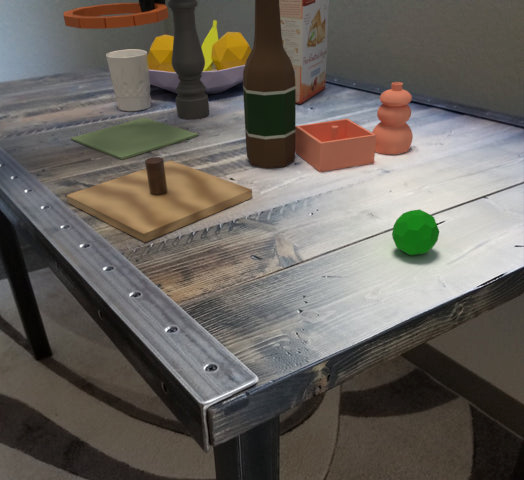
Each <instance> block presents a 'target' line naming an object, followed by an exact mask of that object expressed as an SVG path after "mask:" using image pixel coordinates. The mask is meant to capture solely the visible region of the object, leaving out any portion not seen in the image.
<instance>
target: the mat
mask: <svg viewBox="0 0 524 480" xmlns="http://www.w3.org/2000/svg"><path fill="white" fill-rule="evenodd" d="M197 137H199V133H197V132H195V131H194V132H193V131H190V130H187V129H183V128H181V127H177V126H174V125H171V124H167V123H163V122H160V121H158V120H154V119H150V118H147V117H141V118H137V119H134V120H131V121H126V122H123V123H119V124H116V125H112V126H108V127H104V128H101V129H98V130H94V131H90V132H87V133H83V134H80V135H76V136H72V137H70V141H73V142H76V143H78V144H80V145H83V146H86V147H88V148H91V149H93V150H95V151H98V152H101V153H104V154H106V155H109V156H111V157H114V158H117V159H119V160H122V161H123V160H127V159H130V158H132V157H136V156H139V155H142V154H146V153H148V152H152V151H155V150H159V149H162V148H164V147H167V146H172V145H174V144H178V143H180V142H184V141H187V140H190V139H193V138H197Z"/></svg>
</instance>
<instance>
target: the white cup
mask: <svg viewBox="0 0 524 480" xmlns="http://www.w3.org/2000/svg"><path fill="white" fill-rule="evenodd" d="M147 56H148V51H147V50H145V49H137V48H135V49H133V48H132V49H120V50H119V49H118V50H114V51H113V50H112V51H110V52H107V53H106V54H105V57H106V62H107V66H108V71H109V76H110V81H111V85H112V88H113V93H114V95H115V99H116V100H115V101H116V105H117V109H118V110H119V111H122V112H138V111H139V112H140V111H143V110H147V109H150V108H151V107H152V100H151V84H150V80H149V68H148V58H147Z"/></svg>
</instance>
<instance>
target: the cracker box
mask: <svg viewBox="0 0 524 480" xmlns="http://www.w3.org/2000/svg"><path fill="white" fill-rule="evenodd" d="M279 6H280V21H281V36H282V42H283V48H284V50H285V51H286V53H287V55H288V56H289V58H290V60H291V63H292V66H293V69H294V72H295V85H296V104H300V105H302V104H303V103H305V102H306V101H308V100H309V99H311V98H312V97H314V96H316V95H317V94H319V93H321V92H322V91H323V90H326V86H327V85H326V84H327V83H326V82H327V61H328V39H329V38H328V36H329V18H330V17H329V15H330V0H279Z"/></svg>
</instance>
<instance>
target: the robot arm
mask: <svg viewBox="0 0 524 480" xmlns="http://www.w3.org/2000/svg"><path fill="white" fill-rule="evenodd" d="M138 3H139V5H140V7H141V12H148V11H152V10H154V9H155V3H157V4H164V5H165V6H166V0H138Z"/></svg>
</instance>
